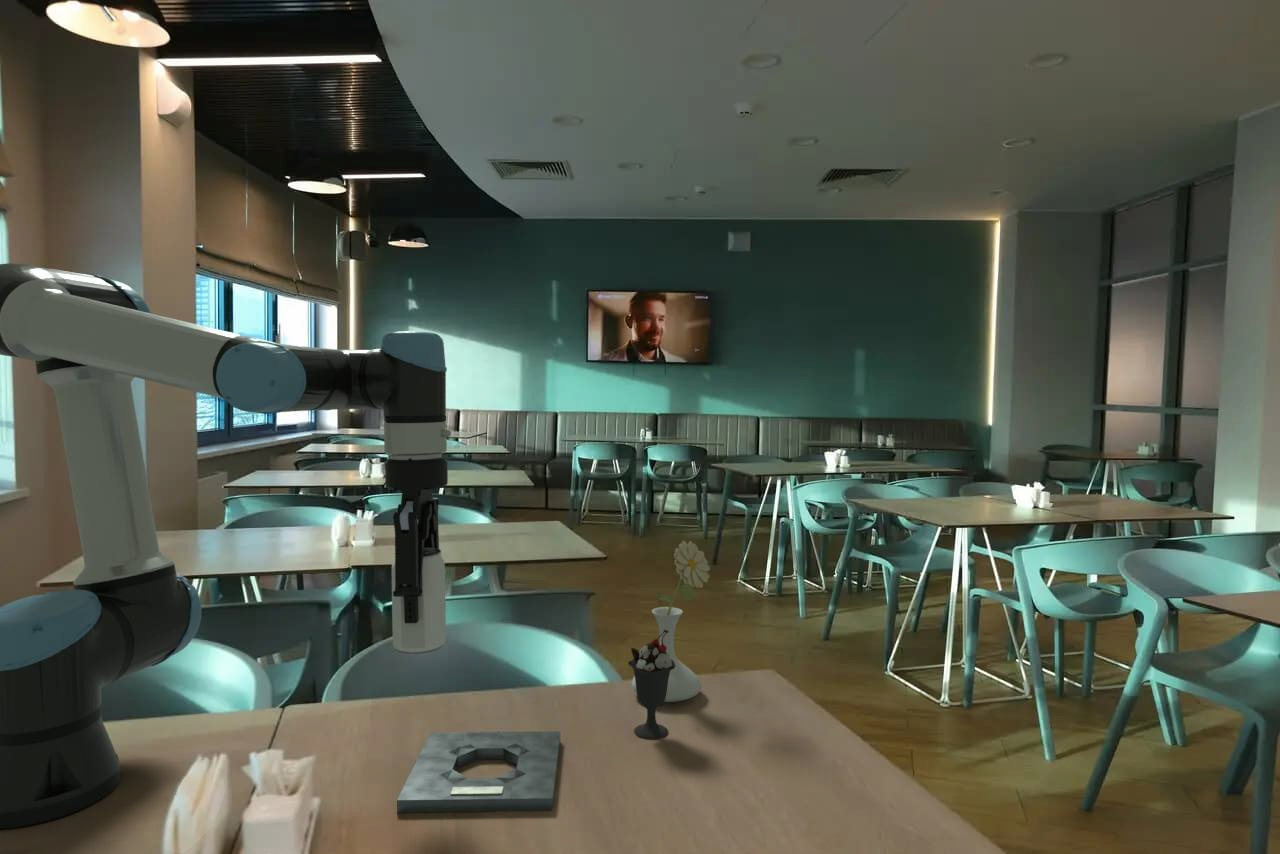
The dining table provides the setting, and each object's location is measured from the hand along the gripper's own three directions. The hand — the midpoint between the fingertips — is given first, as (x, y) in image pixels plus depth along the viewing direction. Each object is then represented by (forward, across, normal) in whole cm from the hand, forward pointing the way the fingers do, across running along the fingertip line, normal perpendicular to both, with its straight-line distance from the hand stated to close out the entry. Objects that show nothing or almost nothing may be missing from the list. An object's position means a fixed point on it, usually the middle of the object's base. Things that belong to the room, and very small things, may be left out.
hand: (420, 638), depth 99 cm
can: (+1, 0, 0) cm, 1 cm away
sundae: (+19, +12, -30) cm, 37 cm away
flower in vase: (+19, +27, -34) cm, 47 cm away
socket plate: (+18, 0, -8) cm, 20 cm away
